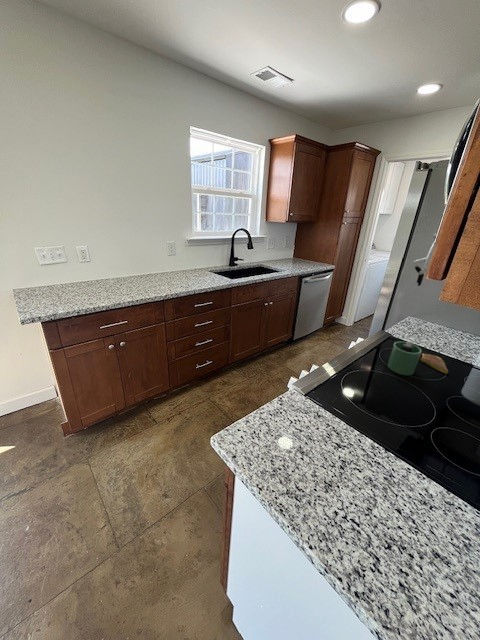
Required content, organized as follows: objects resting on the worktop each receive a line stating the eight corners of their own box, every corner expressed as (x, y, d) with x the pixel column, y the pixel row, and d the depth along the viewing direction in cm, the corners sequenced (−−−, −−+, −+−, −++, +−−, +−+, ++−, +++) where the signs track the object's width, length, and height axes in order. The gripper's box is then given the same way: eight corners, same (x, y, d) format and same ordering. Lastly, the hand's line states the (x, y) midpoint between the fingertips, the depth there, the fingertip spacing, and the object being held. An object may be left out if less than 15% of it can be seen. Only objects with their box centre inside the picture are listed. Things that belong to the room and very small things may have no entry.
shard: (447, 375, 95) (449, 371, 94) (422, 369, 97) (424, 365, 97) (440, 360, 104) (442, 356, 103) (418, 356, 107) (419, 352, 106)
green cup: (419, 372, 96) (427, 351, 92) (401, 377, 93) (409, 355, 89) (399, 360, 103) (405, 340, 99) (382, 364, 100) (388, 343, 97)
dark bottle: (407, 368, 97) (416, 342, 92) (401, 370, 96) (410, 343, 91) (400, 364, 99) (409, 338, 95) (394, 365, 98) (403, 339, 94)
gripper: (419, 237, 91) (405, 285, 98) (485, 242, 81) (464, 295, 88) (423, 235, 96) (409, 281, 103) (484, 240, 86) (465, 290, 93)
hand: (434, 287), depth 96 cm, fingers open, 9 cm apart
